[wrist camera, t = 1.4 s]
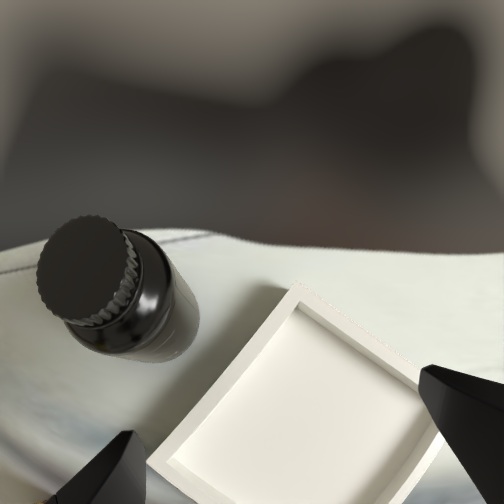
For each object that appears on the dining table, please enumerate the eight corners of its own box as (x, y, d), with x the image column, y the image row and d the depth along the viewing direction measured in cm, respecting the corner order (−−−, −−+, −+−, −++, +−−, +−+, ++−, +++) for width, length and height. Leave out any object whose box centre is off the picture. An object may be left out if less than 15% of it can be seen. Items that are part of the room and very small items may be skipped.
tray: (327, 560, 15) (333, 574, 13) (156, 454, 19) (145, 461, 17) (449, 402, 20) (466, 402, 18) (292, 290, 24) (296, 280, 22)
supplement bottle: (103, 300, 24) (10, 236, 13) (177, 261, 25) (123, 166, 14) (137, 380, 21) (40, 369, 10) (218, 338, 23) (181, 295, 11)
